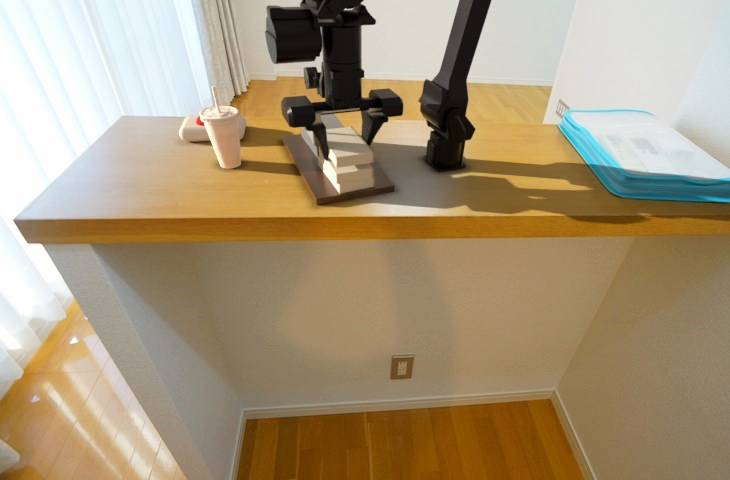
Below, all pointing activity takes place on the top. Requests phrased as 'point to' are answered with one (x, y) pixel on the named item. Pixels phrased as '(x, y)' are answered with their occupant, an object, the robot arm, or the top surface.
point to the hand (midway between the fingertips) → (345, 156)
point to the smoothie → (223, 132)
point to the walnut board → (319, 181)
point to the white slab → (202, 129)
